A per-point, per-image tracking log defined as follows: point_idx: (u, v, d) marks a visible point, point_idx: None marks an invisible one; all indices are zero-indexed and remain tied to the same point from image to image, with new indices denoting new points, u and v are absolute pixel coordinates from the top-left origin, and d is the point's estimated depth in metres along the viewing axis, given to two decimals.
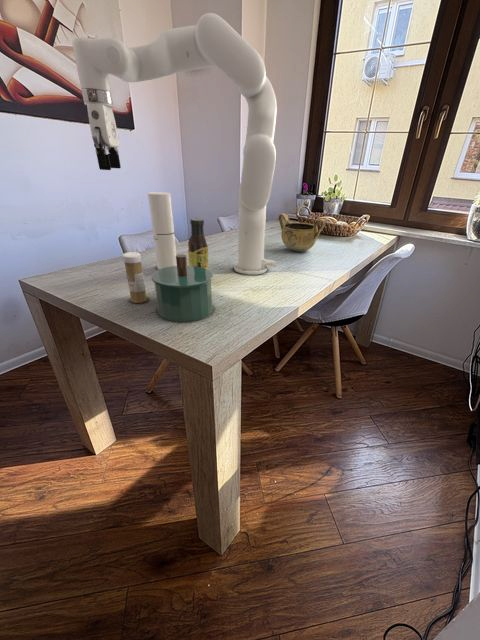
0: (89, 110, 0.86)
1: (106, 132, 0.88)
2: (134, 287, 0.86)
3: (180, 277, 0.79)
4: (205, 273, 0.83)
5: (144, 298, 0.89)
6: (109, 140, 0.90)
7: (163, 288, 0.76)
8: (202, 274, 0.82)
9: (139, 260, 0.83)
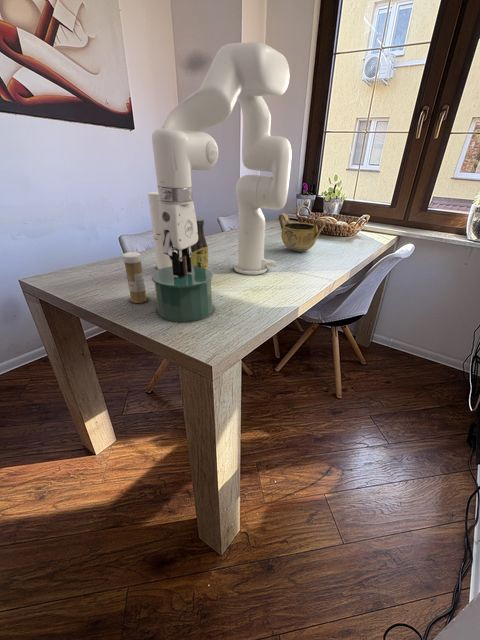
0: (160, 211, 0.69)
1: (176, 236, 0.71)
2: (134, 287, 0.86)
3: (180, 277, 0.79)
4: (205, 273, 0.83)
5: (144, 298, 0.89)
6: (179, 244, 0.72)
7: (163, 288, 0.76)
8: (202, 274, 0.82)
9: (139, 260, 0.83)
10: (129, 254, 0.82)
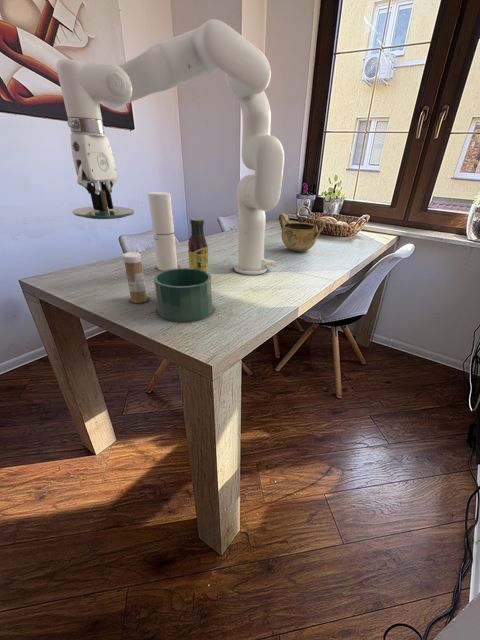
0: (71, 141, 0.75)
1: (87, 165, 0.76)
2: (134, 287, 0.86)
3: (100, 211, 0.85)
4: (127, 210, 0.88)
5: (144, 298, 0.89)
6: (91, 174, 0.77)
7: (163, 288, 0.76)
8: (123, 210, 0.88)
9: (139, 260, 0.83)
10: (129, 254, 0.82)
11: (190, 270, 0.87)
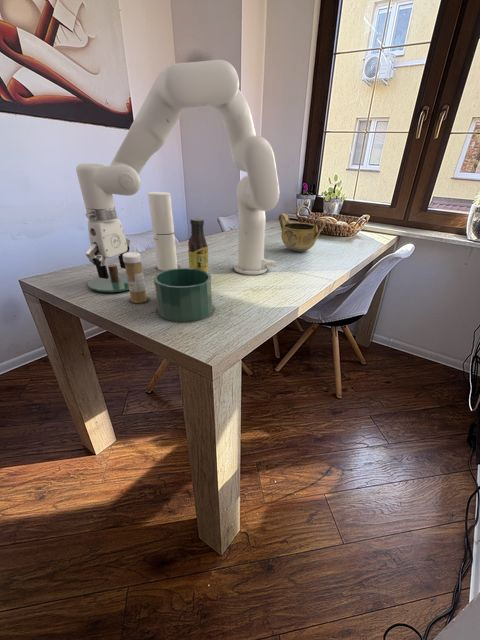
0: (88, 227, 0.86)
1: (102, 247, 0.88)
2: (134, 287, 0.86)
3: (112, 283, 0.97)
4: None
5: (144, 298, 0.89)
6: (106, 253, 0.89)
7: (163, 288, 0.76)
8: None
9: (139, 260, 0.83)
10: (129, 254, 0.82)
11: (190, 270, 0.87)
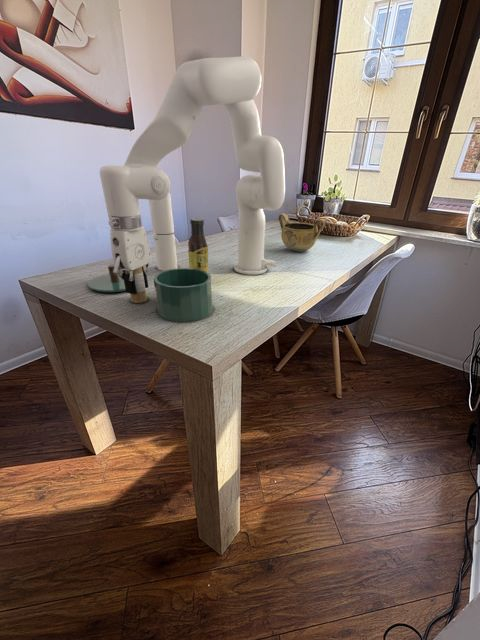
0: (111, 237, 0.77)
1: (126, 259, 0.78)
2: None
3: (112, 283, 0.97)
4: None
5: (144, 298, 0.89)
6: (129, 266, 0.79)
7: (163, 288, 0.76)
8: None
9: None
10: None
11: (190, 270, 0.87)
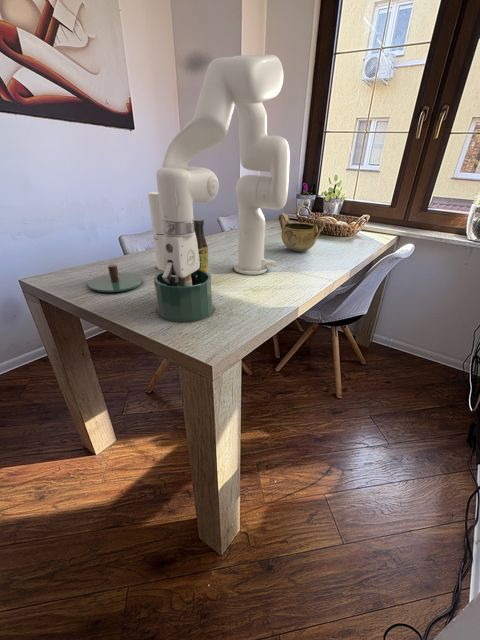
0: (164, 243, 0.73)
1: (179, 266, 0.74)
2: None
3: (112, 283, 0.97)
4: (135, 279, 1.00)
5: None
6: (181, 273, 0.76)
7: (163, 288, 0.76)
8: (132, 280, 1.00)
9: None
10: None
11: None
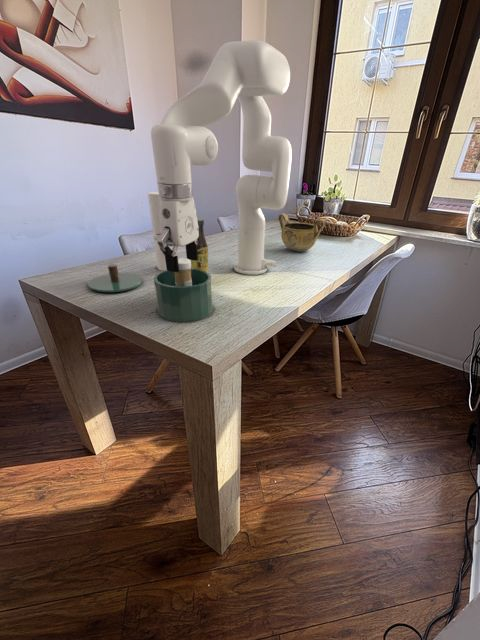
0: (161, 208, 0.69)
1: (176, 232, 0.70)
2: None
3: (112, 283, 0.97)
4: (135, 279, 1.00)
5: None
6: (179, 241, 0.72)
7: (163, 288, 0.76)
8: (132, 280, 1.00)
9: (189, 267, 0.79)
10: (179, 260, 0.79)
11: None
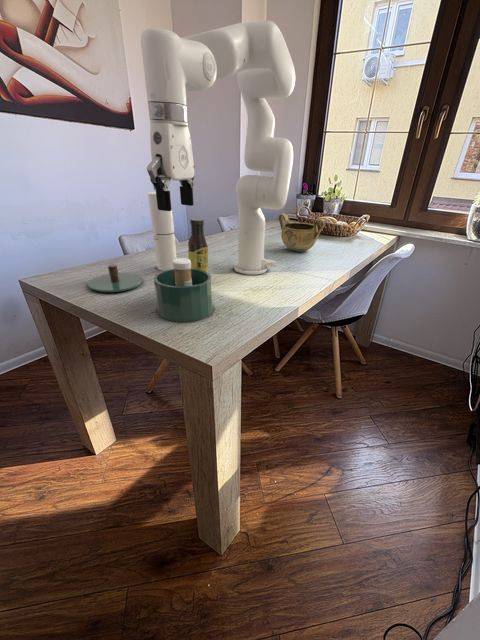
0: (151, 132, 0.61)
1: (169, 161, 0.63)
2: None
3: (112, 283, 0.97)
4: (135, 279, 1.00)
5: None
6: (172, 172, 0.64)
7: (163, 288, 0.76)
8: (132, 280, 1.00)
9: (189, 267, 0.79)
10: (179, 260, 0.79)
11: None
